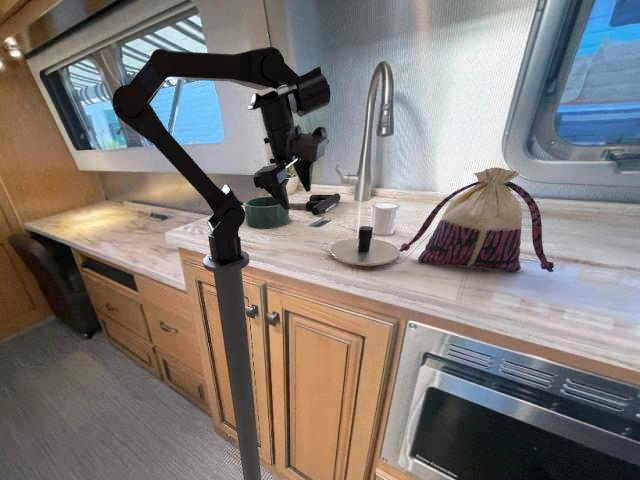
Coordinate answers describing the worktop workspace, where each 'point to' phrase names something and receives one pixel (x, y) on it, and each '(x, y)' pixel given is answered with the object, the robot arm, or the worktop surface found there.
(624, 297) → the worktop surface
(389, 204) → the white cup
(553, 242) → the worktop surface
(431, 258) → the pouch
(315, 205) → the door handle
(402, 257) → the worktop surface
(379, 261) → the tin lid
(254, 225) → the lunch tin
